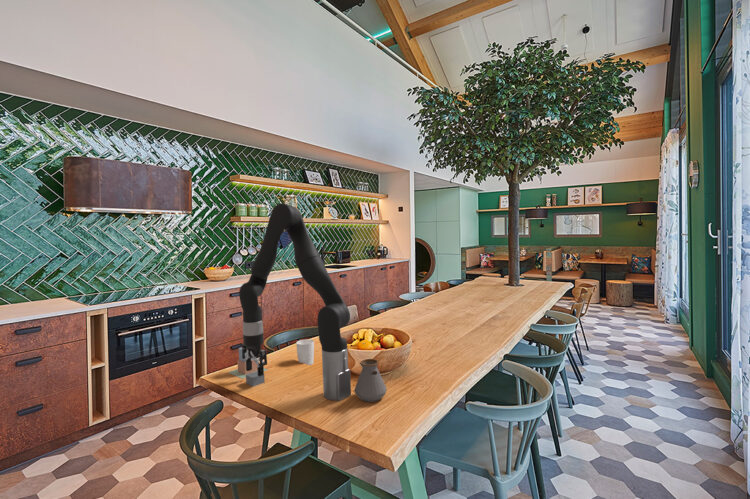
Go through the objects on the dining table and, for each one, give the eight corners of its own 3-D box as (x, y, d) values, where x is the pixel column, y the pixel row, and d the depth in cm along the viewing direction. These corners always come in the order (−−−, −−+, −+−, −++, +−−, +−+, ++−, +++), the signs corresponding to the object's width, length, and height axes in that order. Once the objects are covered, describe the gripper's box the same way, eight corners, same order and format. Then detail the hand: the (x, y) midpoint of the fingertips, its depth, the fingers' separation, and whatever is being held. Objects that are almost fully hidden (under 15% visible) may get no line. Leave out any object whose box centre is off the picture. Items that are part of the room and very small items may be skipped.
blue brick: (256, 358, 156) (255, 347, 156) (245, 362, 152) (244, 350, 152) (249, 356, 159) (249, 345, 159) (239, 359, 156) (238, 348, 155)
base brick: (258, 370, 156) (257, 358, 156) (245, 374, 152) (244, 362, 152) (250, 367, 160) (250, 356, 160) (237, 371, 156) (237, 359, 156)
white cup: (293, 365, 165) (292, 343, 165) (304, 359, 172) (303, 338, 172) (307, 367, 162) (306, 345, 161) (318, 361, 169) (317, 340, 168)
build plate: (268, 373, 157) (268, 369, 157) (242, 382, 148) (242, 378, 148) (253, 367, 165) (253, 363, 165) (227, 375, 156) (227, 372, 155)
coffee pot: (353, 392, 136) (351, 352, 135) (383, 388, 137) (382, 349, 137) (359, 421, 115) (358, 374, 114) (395, 417, 116) (394, 370, 116)
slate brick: (264, 386, 143) (264, 373, 143) (253, 390, 140) (252, 378, 139) (258, 383, 147) (257, 371, 147) (246, 387, 143) (245, 374, 143)
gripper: (271, 333, 141) (273, 374, 142) (252, 327, 150) (253, 365, 151) (254, 337, 135) (255, 380, 136) (234, 331, 144) (236, 371, 145)
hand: (254, 372), depth 143 cm, fingers open, 8 cm apart
